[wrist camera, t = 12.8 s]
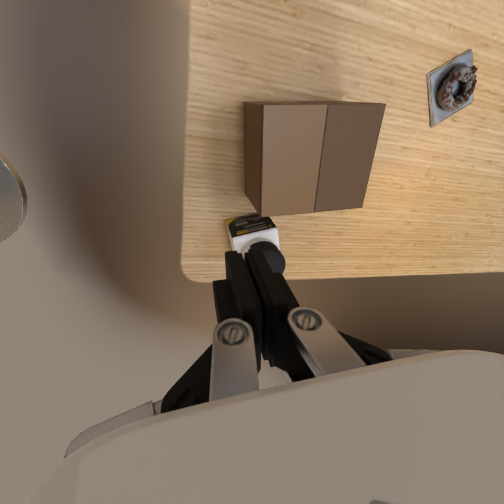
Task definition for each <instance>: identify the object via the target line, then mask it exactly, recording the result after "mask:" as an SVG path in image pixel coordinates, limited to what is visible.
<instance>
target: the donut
mask: <svg viewBox="0 0 504 504" xmlns="http://www.w3.org/2000/svg"><path fill="white" fill-rule="evenodd" d="M477 69H478V68H476V66H473V53H472V51H471V49H470V50H467V51H466V52H464V53H462V54H461V55H459V56H457V57H456V58H454V59H453V60H451V61H449V62H447V63H445V64H444V65H442V66H441V67H438V68H437V69H435V70H433V71H432V72H430V73H428V74H427V83H428V90H429V106H430V116H431V128H432V127H434V126H435V125H436V124H438V123H440V122H441V121H443V120H444V119H446V118H448V117H449V116H451V115H453V114H454V113H456V112H458V111H459V110H461V109H463V108H464V107H466V106H467V105H469V104H471V103H472V102H473V90H474V88H475V84H476V82H477V80H476V76H477V75H475V74H474V73H475V72H476V70H477Z"/></svg>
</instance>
